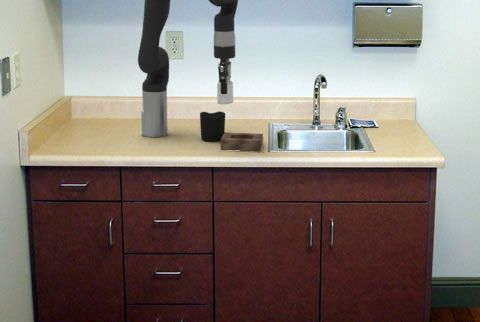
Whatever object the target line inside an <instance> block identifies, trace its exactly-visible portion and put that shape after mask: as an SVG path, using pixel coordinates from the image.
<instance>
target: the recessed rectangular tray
mask: <svg viewBox="0 0 480 322" xmlns="http://www.w3.org/2000/svg"><path fill="white" fill-rule="evenodd" d="M263 142H264V133H255V132H254V133H250V132H229V131H228V132H225V133H224V135H223V136H222V138H221V141H220V151H221V150H240V151H239V152H246V151H260V152H261V150H262V148H263V145H264V143H263Z"/></svg>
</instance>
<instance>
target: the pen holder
mask: <svg viewBox="0 0 480 322" xmlns="http://www.w3.org/2000/svg"><path fill="white" fill-rule="evenodd" d="M199 121H200V122H199V124H200V126H199V127H200V128H199V129H200V139H201V140H202V141H203V142H206V143H219V142H220V143H221V138H222V136H223V135H224V133H225V129H226V128H225V127H226V112H224V111H221V110H220V111H216V112H208V111H201V112H199Z"/></svg>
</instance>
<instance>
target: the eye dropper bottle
mask: <svg viewBox="0 0 480 322" xmlns="http://www.w3.org/2000/svg"><path fill="white" fill-rule="evenodd" d="M222 79H225V77H222ZM227 81H228V83H227V94H221V83H220V82H219V81H218V82H217V85H216V86H217V87H216V88H217V89H216V90H217V92H216V93H217V94H216V97H217V98H216V99H217V104H219V105H229V104H230V105H231V104H233V103H234V83H233V81H232V80H231V79H230V80H228V78H227Z"/></svg>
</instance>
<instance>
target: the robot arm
mask: <svg viewBox="0 0 480 322" xmlns="http://www.w3.org/2000/svg"><path fill="white" fill-rule="evenodd" d="M208 2H209V3H210V4H211V5H213V6H215V7H217V8H220V10H219V12H217V14H215V15H214V17H213V58H214V59H217V60H218V59H219V60H220V61H219V63H218V66H217V69H218V71H217V72H218V82H220V83H221V94H227V83H228V81H227V78H228V80H230V81H231V78H232V76H231V75H232V74H231V73H232V71H231V70H232V69H231V68H232V62H231V61H230V60H231V59H234V58H236V34H235V17H236V13H237V8H238V4H239V3H238V2H239V0H208ZM170 8H171V0H144V5H143V20H142V32H141V39H140V45H139V47H138V48H139V50H138V55H137V64H138V67H139V69H140V70H141V72H142V73H144V74H147V75H146V77H145V79H144V81H143V82H142V84H141V89H142V110H140V111H141V113H140V114H141V117H140V119H141V136H144V137H149V138H160V137H162V138H163V137H165V136H168V134H169V133H168V129H169V128H168V92H167V88H168V84H169V80H170V79H169V78H170V58H169V54H168V52H167V51H166V49H164V48H163V47H161V46H160V41H161V40H160V39H161V35H162V32H163V30H164V27H165V26H166V23H167V21H168V18H169V14H170ZM222 77H225V79H222Z"/></svg>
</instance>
